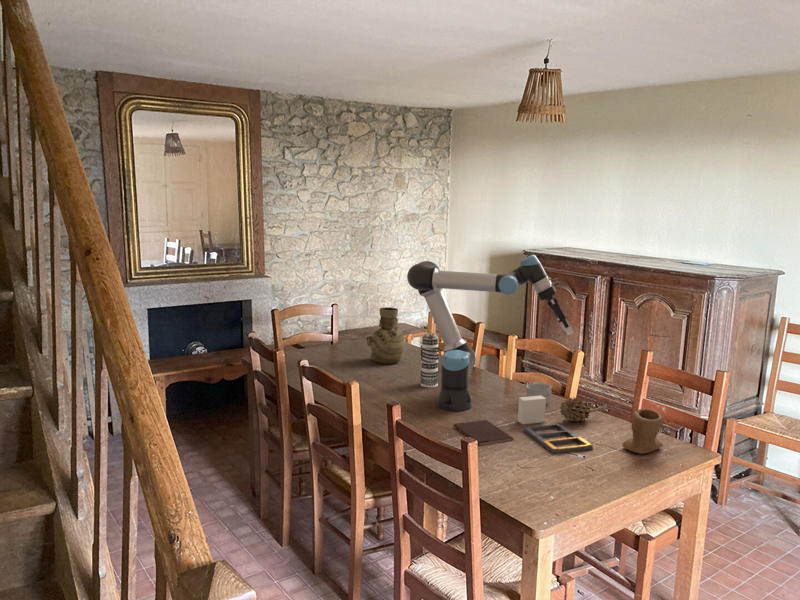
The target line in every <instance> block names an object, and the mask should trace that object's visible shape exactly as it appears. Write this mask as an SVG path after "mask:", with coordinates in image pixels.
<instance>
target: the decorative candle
mask: <svg viewBox="0 0 800 600" xmlns="http://www.w3.org/2000/svg"><path fill="white" fill-rule="evenodd" d="M421 339H422V342H421V345H420V356H421V357H420V362H421V369H420V386H421V387H423V388H436V387H438V386H439V384H438V383H439V381H438V380H439V371H438V369H439V367H438V364H439V359H440V358H439V356H440V354H439V352H440V346H439V337H438V335H436V334H435V333H433V332H432V333H429V332H428V333H424V334H423V335H422V336H421Z"/></svg>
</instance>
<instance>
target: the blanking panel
mask: <svg viewBox="0 0 800 600" xmlns="http://www.w3.org/2000/svg"><path fill="white" fill-rule="evenodd" d="M546 406H547V404H546V398H544V397H543V396H529V397H527V396H521V397H518V407H517V408H518V409H517V410H518V411H517V412H518V413H517V422H519V423H520V424H521V425H529V424H530V425H531V424H539V423H546V422H545V421H546V408H547V407H546Z"/></svg>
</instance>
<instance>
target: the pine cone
mask: <svg viewBox="0 0 800 600" xmlns="http://www.w3.org/2000/svg"><path fill="white" fill-rule="evenodd" d="M559 405H560V406H559V407H558V408H559V409H560V410H559V413H560V416H563V418H565V420H567V419H568V421H570V422H572V421H575V422H579V421H581V422H582V421H586V419H589V417H590V416H591V415H590V413H596V412H600V411H604V410H608V407H609V405H608V404H603V405H602V406H599V407H596V408H591V407H590V406H589V403H588V402H586V401H584V400H583V399H580V398H578V397H573V398H572V397H569V398H568V399H563V400H562V402H561V403H559Z"/></svg>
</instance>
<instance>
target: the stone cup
mask: <svg viewBox="0 0 800 600" xmlns="http://www.w3.org/2000/svg"><path fill="white" fill-rule="evenodd" d="M662 424H663V417H662V415H661V414H660V413H659V412H658V411H657V410H655V409H651V408H640V409H637V410H636V411H635V412H634V414H633V415H632V419H631V431H632V438H630V439H627V440H625V441H623V442H622V444H621V445H622V447H623V448H624V449H626V450H628V451H629V452H632V453H635V454H639V455H643V454H647V453H650V452H653V451H655V450H658V449H660V448H662V447H663V446H664V444H663V443H662V442H661V441H660V440H659V439H658V438H657V436H658V433H659V432H660V431H661V428H662Z"/></svg>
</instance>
